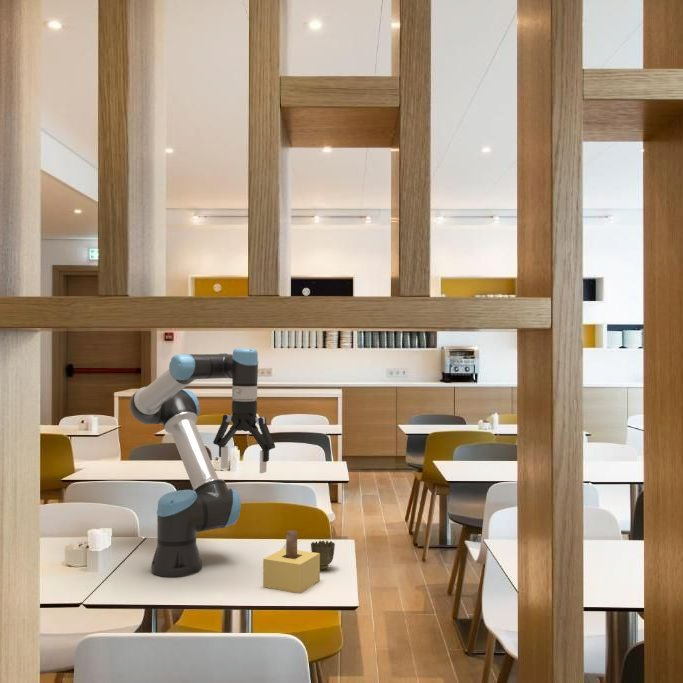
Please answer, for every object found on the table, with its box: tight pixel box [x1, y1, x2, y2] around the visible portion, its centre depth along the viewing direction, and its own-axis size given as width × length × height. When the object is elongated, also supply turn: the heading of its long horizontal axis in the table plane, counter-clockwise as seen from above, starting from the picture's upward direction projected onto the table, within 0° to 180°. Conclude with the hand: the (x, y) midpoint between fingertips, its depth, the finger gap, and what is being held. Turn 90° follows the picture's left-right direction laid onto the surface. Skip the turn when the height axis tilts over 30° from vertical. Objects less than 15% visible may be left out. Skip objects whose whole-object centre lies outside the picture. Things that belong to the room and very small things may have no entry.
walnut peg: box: [285, 529, 298, 559], centre depth 210 cm, size 3×3×14 cm
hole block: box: [262, 548, 321, 594], centre depth 210 cm, size 12×12×8 cm
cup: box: [310, 540, 336, 571], centre depth 223 cm, size 8×7×8 cm
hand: (243, 470), depth 218 cm, fingers open, 13 cm apart
